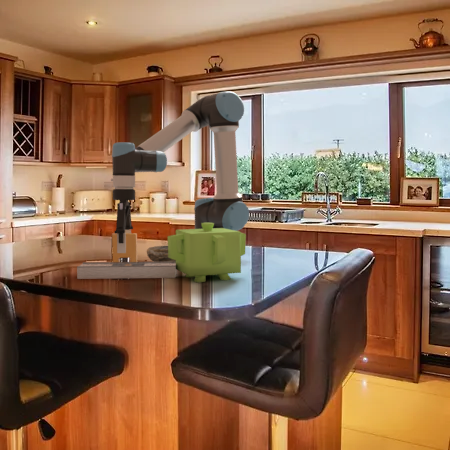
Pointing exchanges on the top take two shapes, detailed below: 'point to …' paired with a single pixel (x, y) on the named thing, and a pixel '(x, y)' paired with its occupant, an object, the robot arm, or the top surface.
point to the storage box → (207, 251)
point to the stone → (159, 254)
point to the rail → (126, 270)
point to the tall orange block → (130, 248)
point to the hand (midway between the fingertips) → (124, 250)
